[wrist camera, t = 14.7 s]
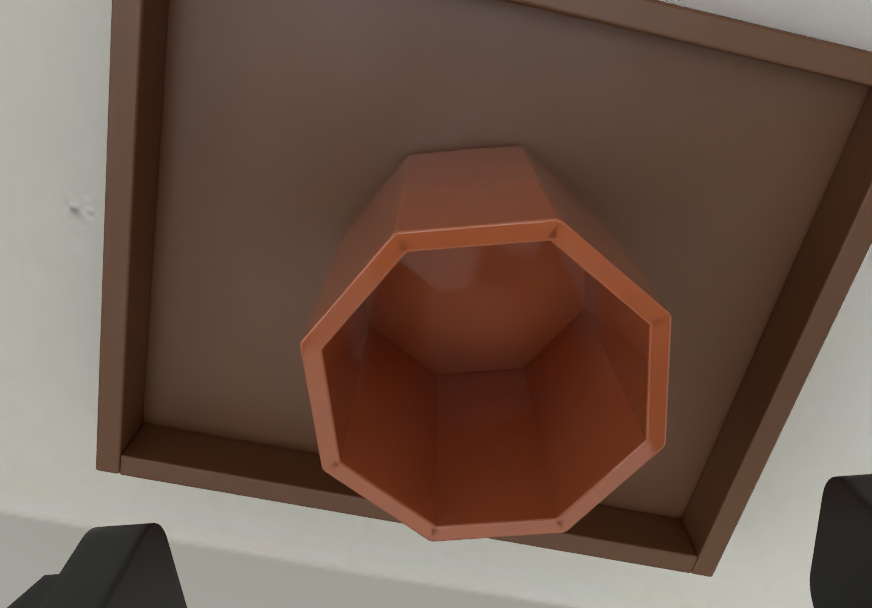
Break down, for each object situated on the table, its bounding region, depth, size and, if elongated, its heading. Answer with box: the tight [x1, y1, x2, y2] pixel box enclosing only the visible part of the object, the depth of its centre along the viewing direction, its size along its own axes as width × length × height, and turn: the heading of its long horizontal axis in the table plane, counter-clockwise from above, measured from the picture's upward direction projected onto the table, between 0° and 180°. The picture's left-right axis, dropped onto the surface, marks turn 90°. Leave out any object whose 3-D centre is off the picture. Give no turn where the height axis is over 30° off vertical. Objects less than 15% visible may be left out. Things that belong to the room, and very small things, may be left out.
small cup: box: [300, 145, 672, 541], centre depth 15 cm, size 6×6×6 cm
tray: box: [96, 0, 872, 577], centre depth 17 cm, size 16×13×2 cm
